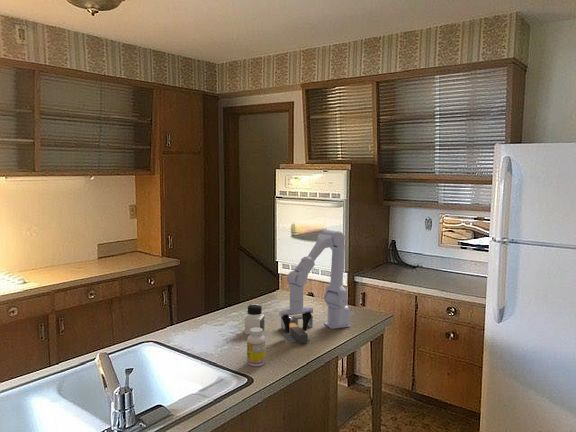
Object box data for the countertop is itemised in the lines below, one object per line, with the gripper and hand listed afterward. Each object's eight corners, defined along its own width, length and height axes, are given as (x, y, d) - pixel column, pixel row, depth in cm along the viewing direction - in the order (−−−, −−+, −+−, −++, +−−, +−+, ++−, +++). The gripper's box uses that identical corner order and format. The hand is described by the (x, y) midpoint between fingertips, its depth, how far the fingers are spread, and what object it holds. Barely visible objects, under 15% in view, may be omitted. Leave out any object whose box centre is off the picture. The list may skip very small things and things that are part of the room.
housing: (309, 324, 220) (309, 312, 219) (313, 328, 215) (314, 315, 215) (281, 328, 215) (281, 315, 214) (285, 331, 210) (285, 319, 210)
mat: (300, 332, 210) (300, 331, 210) (309, 340, 200) (309, 339, 200) (282, 334, 207) (283, 333, 207) (291, 343, 198) (291, 342, 198)
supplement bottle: (247, 359, 181) (247, 326, 179) (264, 359, 181) (265, 326, 180) (247, 367, 174) (247, 332, 173) (265, 366, 175) (265, 332, 173)
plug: (293, 330, 211) (294, 322, 210) (307, 342, 197) (307, 334, 196) (286, 331, 209) (286, 323, 209) (299, 344, 196) (299, 335, 195)
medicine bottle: (260, 335, 205) (260, 308, 204) (244, 334, 207) (244, 307, 205) (264, 330, 212) (264, 303, 211) (248, 328, 214) (248, 302, 212)
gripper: (308, 295, 208) (308, 326, 210) (276, 298, 203) (276, 330, 204) (315, 299, 202) (314, 331, 203) (282, 303, 196) (282, 335, 198)
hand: (296, 331), depth 203 cm, fingers open, 7 cm apart
